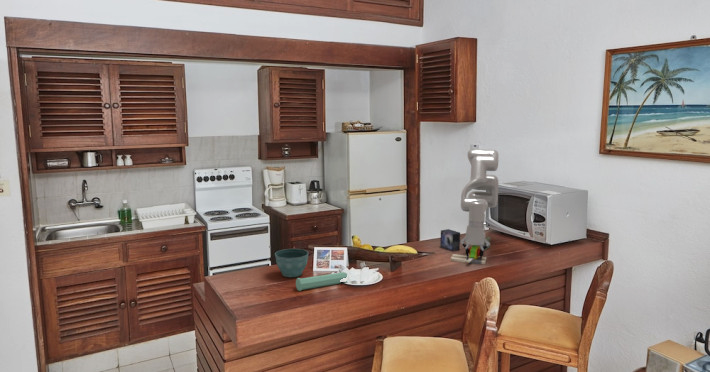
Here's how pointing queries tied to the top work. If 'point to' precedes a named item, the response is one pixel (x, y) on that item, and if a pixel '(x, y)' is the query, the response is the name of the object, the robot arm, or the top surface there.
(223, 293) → the top surface
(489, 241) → the handheld radio
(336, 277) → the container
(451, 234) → the small box
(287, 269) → the flower pot
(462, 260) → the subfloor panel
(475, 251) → the toy measuring tape
